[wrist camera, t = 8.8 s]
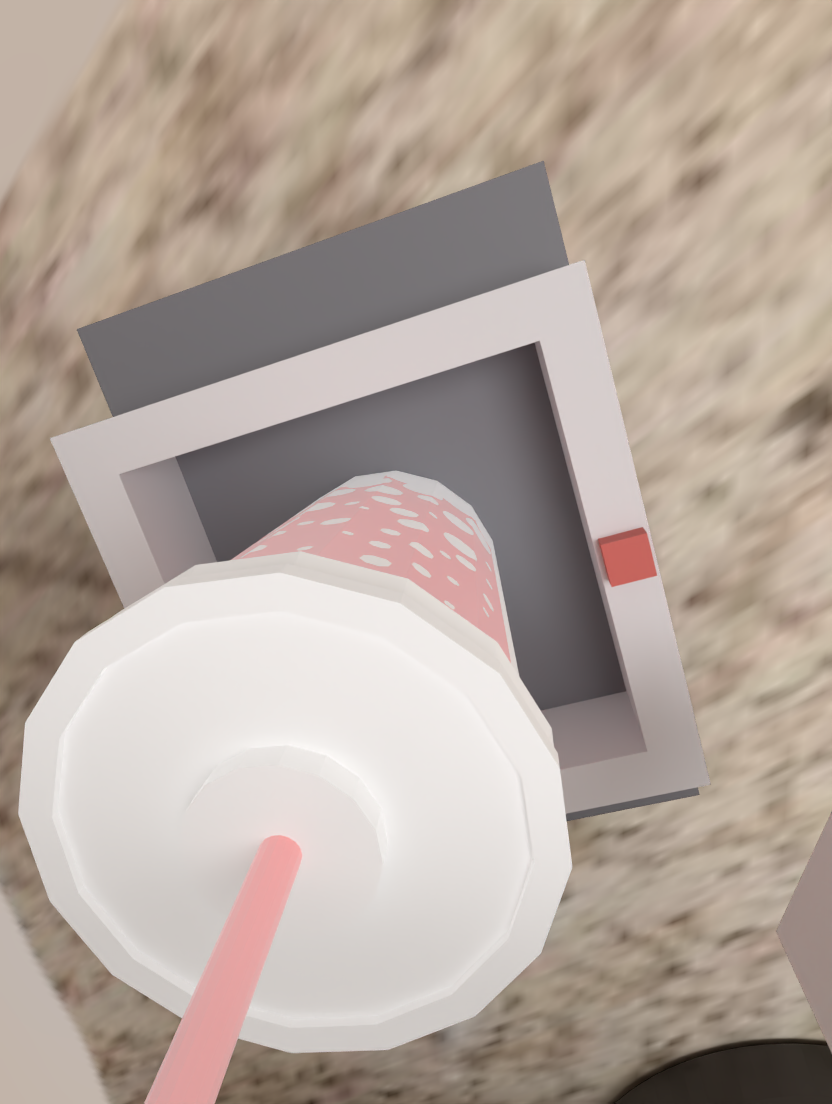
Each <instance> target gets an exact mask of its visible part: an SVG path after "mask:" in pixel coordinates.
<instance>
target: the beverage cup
mask: <svg viewBox="0 0 832 1104" xmlns="http://www.w3.org/2000/svg"><path fill="white" fill-rule="evenodd" d="M18 815H19V818H20V820H21V823H22V826H23V829H24V831H25V834H26V837H27V840H28V842H29V845H30V848H31V851H32V853H33V856H34V859H35V862H36V865H37V867H38V870H39V873H40V876H41V878H42V881H43V884H44V887H45V889H46V892H47V895H48V898H49V900H50V902H51V903H52V905H53V906H54V907H55V908H56V909H57V910H58V912H59V913H60V914H61V915H62V916H63V917H64V919H65V920H66V921H67V922H68V923H69V925H70V926H71V927H72V928H73V929H74V930H75V932H76V933H77V934H78V935H79V936H80V938H81V939H82V940H83V941H84V942H85V943H86V945H87V946H88V947H89V948H90V949H91V950H92V952H93V953H94V954H95V955H96V956H97V958H98V959H99V960H100V961H101V962H102V963H103V965H104V966H105V967H106V968H107V969H108V971H109V972H110V973H111V974H112V975H113V976H115V977H116V978H118V979H120V980H121V981H123V982H124V983H126V984H128V985H129V986H131V987H132V988H134V989H136V990H137V991H139V992H140V993H142V994H144V995H145V996H147V997H149V998H150V999H152V1000H153V1001H155V1002H157V1003H158V1004H160V1005H161V1006H163V1007H165V1008H166V1009H168V1010H169V1011H171V1012H173V1013H174V1014H176V1015H177V1016H179V1017H181V1018H182V1020H181V1022H180V1024H179V1027H178V1029H177V1031H176V1033H175V1035H174V1038H173V1040H172V1042H171V1044H170V1047H169V1049H168V1051H167V1053H166V1056H165V1058H164V1060H163V1062H162V1064H161V1067H160V1069H159V1071H158V1073H157V1076H156V1078H155V1080H154V1082H153V1085H152V1087H151V1089H150V1091H149V1093H148V1096H147V1098H146V1100H145V1102H144V1104H215V1101H216V1098H217V1095H218V1093H219V1090H220V1087H221V1084H222V1082H223V1079H224V1076H225V1073H226V1070H227V1068H228V1065H229V1062H230V1059H231V1056H232V1054H233V1051H234V1048H235V1045H236V1043H237V1040H238V1039H241V1040H245V1041H249V1042H252V1043H256V1044H260V1045H263V1046H267V1047H271V1048H274V1049H278V1050H282V1051H285V1052H289V1053H310V1052H340V1051H371V1050H389V1049H392V1048H394V1047H397V1046H400V1045H402V1044H405V1043H407V1042H410V1041H413V1040H415V1039H418V1038H420V1037H423V1036H426V1035H428V1034H431V1033H433V1032H436V1031H439V1030H441V1029H444V1028H446V1027H449V1026H452V1025H454V1024H457V1023H459V1022H462V1021H465V1020H467V1019H470V1018H472V1017H475V1016H476V1015H477V1014H478V1013H479V1012H480V1011H481V1010H482V1009H483V1008H485V1007H486V1006H487V1005H488V1004H489V1003H490V1002H491V1001H492V1000H493V999H494V998H495V997H496V996H497V995H498V994H499V993H500V992H501V991H502V990H503V989H504V988H505V987H506V986H508V985H509V984H510V983H511V982H512V981H513V980H514V979H515V978H516V977H517V976H518V975H519V974H520V973H521V972H522V971H523V970H524V969H525V968H526V967H527V966H528V965H529V964H531V963H532V962H533V961H534V960H535V959H536V958H537V957H538V956H539V955H540V954H541V952H542V949H543V946H544V944H545V941H546V938H547V935H548V933H549V930H550V927H551V924H552V922H553V919H554V916H555V913H556V911H557V908H558V905H559V902H560V900H561V897H562V894H563V892H564V889H565V886H566V883H567V881H568V878H569V875H570V872H571V870H572V860H571V852H570V844H569V837H568V829H567V821H566V813H565V805H564V797H563V789H562V781H561V774H560V766H559V759H558V753H557V751H556V750H555V748H554V743H553V735H552V728H551V726H550V725H549V723H548V722H547V720H546V719H545V717H544V715H543V714H542V712H541V711H540V709H539V707H538V706H537V704H536V703H535V701H534V699H533V698H532V696H531V695H530V693H529V691H528V690H527V688H526V687H525V685H524V684H523V682H522V680H521V679H520V677H519V673H518V667H517V662H516V657H515V652H514V647H513V642H512V637H511V632H510V627H509V622H508V617H507V611H506V606H505V601H504V596H503V591H502V586H501V581H500V576H499V571H498V566H497V561H496V555H495V550H494V545H493V541H492V539H491V537H490V536H489V534H488V532H487V531H486V529H485V527H484V526H483V524H482V523H481V521H480V519H479V518H478V516H477V514H476V513H475V511H474V509H473V508H472V506H471V505H470V504H468V503H467V502H465V501H464V500H463V499H461V498H460V497H459V496H457V495H456V494H455V493H453V492H452V491H450V490H449V489H448V488H446V487H445V486H444V485H442V484H441V483H439V482H438V481H436V480H432V479H428V478H424V477H420V476H416V475H412V474H408V473H404V472H400V471H390V472H383V473H376V474H369V475H362V476H355V477H353V478H352V479H350V480H348V481H347V482H345V483H344V484H342V485H340V486H339V487H337V488H335V489H334V490H332V491H330V492H329V493H327V494H325V495H324V496H322V497H321V498H319V499H318V500H316V501H315V502H313V503H312V504H311V505H309V506H308V507H306V508H305V509H303V510H302V511H300V512H299V513H298V514H296V515H295V516H293V517H292V518H290V519H289V520H288V521H286V522H285V523H283V524H282V525H280V526H279V527H277V528H276V529H275V530H273V531H272V532H270V533H269V534H267V535H266V536H265V537H263V538H262V539H260V540H259V541H257V542H256V543H255V544H253V545H252V546H250V547H249V548H247V549H246V550H244V551H243V552H242V553H240V554H239V555H237V556H236V557H234V558H233V559H232V560H230V561H222V562H215V563H207V564H199V565H195V566H193V567H192V568H190V569H188V570H187V571H185V572H183V573H182V574H180V575H179V576H177V577H175V578H174V579H172V580H170V581H169V582H167V583H166V584H164V585H162V586H161V587H159V588H157V589H156V590H154V591H152V592H151V593H149V594H148V595H146V596H144V597H143V598H141V599H139V600H138V601H136V602H135V603H133V604H131V605H130V606H128V607H126V608H125V609H123V610H122V611H120V612H118V613H117V614H115V615H114V616H113V617H111V618H110V619H108V620H106V621H105V622H103V623H101V624H100V625H98V626H97V627H95V628H93V629H92V630H90V631H88V632H87V633H86V634H85V635H83V636H82V637H81V638H79V639H78V640H77V641H75V642H74V644H73V646H72V647H71V649H70V651H69V652H68V654H67V655H66V657H65V659H64V660H63V662H62V664H61V665H60V667H59V668H58V670H57V672H56V673H55V675H54V677H53V678H52V680H51V681H50V683H49V685H48V686H47V688H46V690H45V691H44V693H43V695H42V696H41V698H40V699H39V701H38V703H37V704H36V706H35V708H34V709H33V711H32V712H31V714H30V716H29V717H28V719H27V721H26V722H25V731H24V744H23V757H22V770H21V783H20V797H19V810H18Z"/></svg>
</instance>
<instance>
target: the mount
mask: <svg viewBox="0 0 832 1104" xmlns="http://www.w3.org/2000/svg"><path fill="white" fill-rule="evenodd" d="M77 331H78V334H79V336H80V338H81V341H82V343H83V346H84V348H85V351H86V353H87V355H88V358H89V360H90V363H91V365H92V367H93V370H94V372H95V375H96V377H97V380H98V382H99V384H100V387H101V389H102V392H103V394H104V396H105V399H106V401H107V404H108V406H109V409H110V411H111V413H112V416H113V417H112V418H109V419H106V420H103V421H100V422H97V423H94V424H91V425H88V426H85V427H82V428H79V429H76V430H73V431H70V432H67V433H64V434H61V435H58V436H55V437H52V438H50V440H51V442H52V444H53V447H54V449H55V451H56V454H57V456H58V458H59V460H60V463H61V465H62V467H63V470H64V472H65V474H66V476H67V479H68V481H69V483H70V486H71V488H72V490H73V492H74V495H75V497H76V499H77V502H78V504H79V506H80V508H81V511H82V513H83V515H84V518H85V520H86V522H87V524H88V527H89V529H90V531H91V533H92V536H93V538H94V540H95V543H96V545H97V547H98V549H99V552H100V554H101V556H102V559H103V561H104V563H105V565H106V568H107V570H108V572H109V575H110V577H111V579H112V581H113V584H114V586H115V588H116V591H117V593H118V595H119V597H120V600H121V602H122V604H123V607H124V609H125V608H126V607H128V606H130V605H131V604H133V603H135V602H136V601H138V600H139V599H141V598H143V597H144V596H146V595H148V594H149V593H151V592H152V591H154V590H156V589H157V588H159V587H161V586H162V585H164V584H166V583H167V582H169V581H170V580H172V579H174V578H175V577H177V576H179V575H180V574H182V573H183V572H185V571H187V570H188V569H190V568H192V567H193V566H195V565H199V564H207V563H215V562H222V561H230V560H232V559H233V558H234V557H236V556H237V555H239V554H240V553H242V552H243V551H244V550H246V549H247V548H249V547H250V546H252V545H253V544H255V543H256V542H257V541H259V540H260V539H262V538H263V537H265V536H266V535H267V534H269V533H270V532H272V531H273V530H275V529H276V528H277V527H279V526H280V525H282V524H283V523H285V522H286V521H288V520H289V519H290V518H292V517H293V516H295V515H296V514H298V513H299V512H300V511H302V510H303V509H305V508H306V507H308V506H309V505H311V504H312V503H313V502H315V501H316V500H318V499H319V498H321V497H322V496H324V495H325V494H327V493H329V492H330V491H332V490H334V489H335V488H337V487H339V486H340V485H342V484H344V483H345V482H347V481H348V480H350V479H352V478H353V477H355V476H362V475H369V474H376V473H383V472H390V471H400V472H404V473H408V474H412V475H416V476H420V477H424V478H428V479H432V480H436V481H438V482H439V483H441V484H442V485H444V486H445V487H446V488H448V489H449V490H450V491H452V492H453V493H455V494H456V495H457V496H459V497H460V498H461V499H463V500H464V501H465V502H467V503H468V504H470V505H471V506H472V508H473V509H474V511H475V513H476V514H477V516H478V518H479V519H480V521H481V523H482V524H483V526H484V527H485V529H486V531H487V532H488V534H489V536H490V537H491V539H492V541H493V545H494V550H495V555H496V561H497V566H498V571H499V576H500V581H501V586H502V591H503V596H504V601H505V606H506V611H507V617H508V622H509V627H510V632H511V637H512V642H513V647H514V652H515V657H516V662H517V667H518V673H519V677H520V679H521V680H522V682H523V684H524V685H525V687H526V688H527V690H528V691H529V693H530V695H531V696H532V698H533V699H534V701H535V703H536V704H537V706H538V707H539V709H540V711H541V712H542V714H543V715H544V717H545V719H546V720H547V722H548V723H549V725H550V726H551V728H552V735H553V743H554V748H555V750H556V751H557V753H558V759H559V766H560V774H561V781H562V789H563V797H564V805H565V813H566V821H570V820H575V819H580V818H585V817H590V816H595V815H600V814H605V813H610V812H615V811H620V810H625V809H630V808H635V807H640V806H645V805H650V804H655V803H661V802H666V801H671V800H676V799H681V798H686V797H691V796H696V795H699V791H698V787H702V786H706V785H711V783H710V779H709V775H708V771H707V767H706V762H705V758H704V754H703V750H702V746H701V742H700V737H699V733H698V729H697V725H696V721H695V717H694V713H693V708H692V704H691V700H690V696H689V692H688V688H687V683H686V679H685V675H684V671H683V667H682V663H681V659H680V654H679V650H678V646H677V642H676V638H675V634H674V629H673V625H672V621H671V617H670V613H669V609H668V605H667V600H666V596H665V592H664V588H663V584H662V580H661V575H660V571H659V567H658V563H657V559H656V555H655V551H654V546H653V542H652V538H651V534H650V530H649V526H648V521H647V517H646V513H645V509H644V505H643V501H642V497H641V492H640V488H639V484H638V480H637V476H636V472H635V467H634V463H633V459H632V455H631V451H630V447H629V442H628V438H627V434H626V430H625V426H624V422H623V418H622V413H621V409H620V405H619V401H618V397H617V393H616V388H615V384H614V380H613V376H612V372H611V368H610V364H609V359H608V355H607V351H606V347H605V343H604V339H603V334H602V330H601V326H600V322H599V318H598V314H597V310H596V305H595V301H594V297H593V293H592V289H591V285H590V280H589V276H588V272H587V268H586V264H585V260H582V261H579V262H576V263H573V264H570V265H569V262H568V258H567V254H566V250H565V246H564V242H563V238H562V234H561V230H560V226H559V222H558V218H557V214H556V210H555V206H554V202H553V197H552V193H551V189H550V185H549V181H548V177H547V173H546V169H545V165H544V161H541V162H539V163H536V164H533V165H530V166H528V167H525V168H522V169H519V170H517V171H514V172H511V173H508V174H505V175H503V176H500V177H497V178H494V179H492V180H489V181H486V182H483V183H481V184H478V185H475V186H472V187H469V188H467V189H464V190H461V191H458V192H456V193H453V194H450V195H447V196H445V197H442V198H439V199H436V200H433V201H431V202H428V203H425V204H422V205H420V206H417V207H414V208H411V209H409V210H406V211H403V212H400V213H397V214H395V215H392V216H389V217H386V218H384V219H381V220H378V221H375V222H373V223H370V224H367V225H364V226H362V227H359V228H356V229H353V230H350V231H348V232H345V233H342V234H339V235H337V236H334V237H331V238H328V239H326V240H323V241H320V242H317V243H314V244H312V245H309V246H306V247H303V248H301V249H298V250H295V251H292V252H290V253H287V254H284V255H281V256H278V257H276V258H273V259H270V260H267V261H265V262H262V263H259V264H256V265H254V266H251V267H248V268H245V269H242V270H240V271H237V272H234V273H231V274H229V275H226V276H223V277H220V278H218V279H215V280H212V281H209V282H206V283H204V284H201V285H198V286H195V287H193V288H190V289H187V290H184V291H182V292H179V293H176V294H173V295H170V296H168V297H165V298H162V299H159V300H157V301H154V302H151V303H148V304H146V305H143V306H140V307H137V308H135V309H132V310H129V311H126V312H123V313H121V314H118V315H115V316H112V317H110V318H107V319H104V320H101V321H99V322H96V323H93V324H90V325H87V326H85V327H82V328H79V329H77Z"/></svg>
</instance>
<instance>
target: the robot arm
mask: <svg viewBox="0 0 832 1104" xmlns="http://www.w3.org/2000/svg"><path fill="white" fill-rule="evenodd" d="M776 932H777V935H778V937H779V939H780V941H781V943H782V945H783V948H784V950H785V952H786V954H787V956H788V959H789V961H790V963H791V965H792V967H793V970H794V972H795V974H796V976H797V978H798V980H799V983H800V985H801V987H802V989H803V991H804V994H805V996H806V998H807V1000H808V1002H809V1004H810V1007H811V1009H812V1011H813V1013H814V1015H815V1018H816V1020H817V1022H818V1024H819V1026H820V1029H821V1031H822V1033H823V1035H824V1037H825V1039H826V1042H827V1044H828V1046H824V1045H812V1044H767V1045H756V1046H747V1047H741V1048H735V1049H729V1050H724V1051H720V1052H716V1053H711V1054H708V1055H704V1056H701V1057H698V1058H695V1059H692V1060H689V1061H686V1062H683V1063H681V1064H678V1065H676V1066H674V1067H671V1068H669V1069H667V1070H665V1071H663V1072H661V1073H659V1074H657V1075H655V1076H653V1077H651V1078H650V1079H648V1080H646V1081H645V1082H643V1083H641V1084H640V1085H638V1086H637V1087H635V1088H634V1089H632V1090H631V1091H630V1092H628V1093H627V1094H626V1095H625V1096H623V1097H622V1098H621V1099H620V1100H619V1101H617V1102H616V1103H615V1104H832V812H831V814H830V816H829V818H828V821H827V823H826V825H825V827H824V829H823V831H822V833H821V836H820V838H819V840H818V842H817V844H816V846H815V849H814V851H813V853H812V855H811V857H810V859H809V861H808V864H807V866H806V868H805V870H804V872H803V874H802V876H801V879H800V881H799V883H798V885H797V887H796V889H795V891H794V894H793V896H792V898H791V900H790V902H789V904H788V906H787V909H786V911H785V913H784V915H783V917H782V919H781V922H780V924H779V926H778V928H777V930H776Z"/></svg>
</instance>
